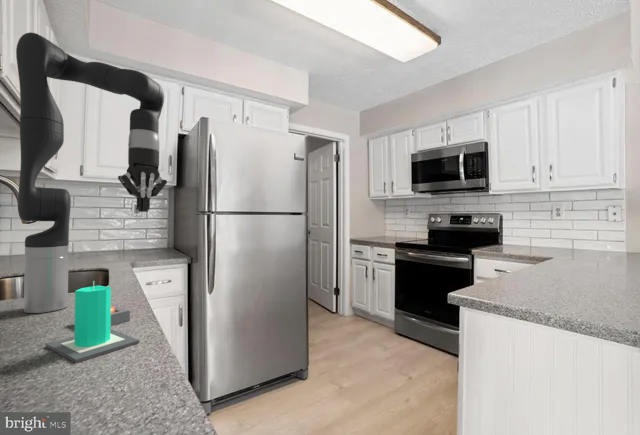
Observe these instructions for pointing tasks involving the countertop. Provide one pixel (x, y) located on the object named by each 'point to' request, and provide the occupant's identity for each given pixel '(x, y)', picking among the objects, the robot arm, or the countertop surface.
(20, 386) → the countertop surface
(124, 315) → the button box
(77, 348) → the grey flat plate
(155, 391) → the countertop surface
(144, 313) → the countertop surface
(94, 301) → the candle
